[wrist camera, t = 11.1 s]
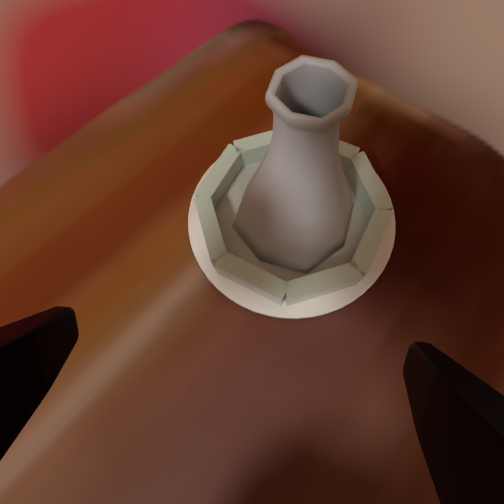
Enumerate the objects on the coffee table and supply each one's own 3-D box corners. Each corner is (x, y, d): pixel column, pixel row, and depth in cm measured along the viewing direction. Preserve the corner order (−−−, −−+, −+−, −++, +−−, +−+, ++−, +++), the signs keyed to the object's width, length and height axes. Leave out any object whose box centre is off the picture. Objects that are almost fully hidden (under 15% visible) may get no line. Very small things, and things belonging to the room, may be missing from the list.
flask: (212, 231, 21) (169, 109, 12) (277, 152, 23) (284, -5, 14) (311, 295, 19) (351, 211, 10) (372, 204, 21) (452, 64, 12)
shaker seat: (420, 181, 23) (434, 162, 21) (344, 361, 19) (353, 358, 17) (249, 115, 25) (248, 92, 23) (151, 259, 21) (139, 246, 19)
